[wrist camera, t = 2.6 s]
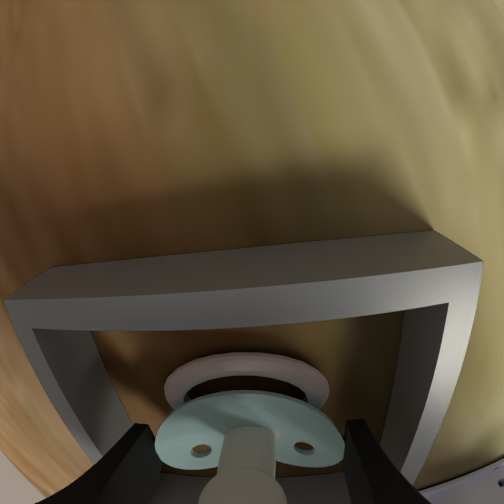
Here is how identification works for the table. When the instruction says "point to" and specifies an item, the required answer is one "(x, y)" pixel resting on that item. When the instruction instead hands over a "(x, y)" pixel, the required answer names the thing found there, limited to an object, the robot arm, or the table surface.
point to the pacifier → (247, 426)
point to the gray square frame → (252, 315)
